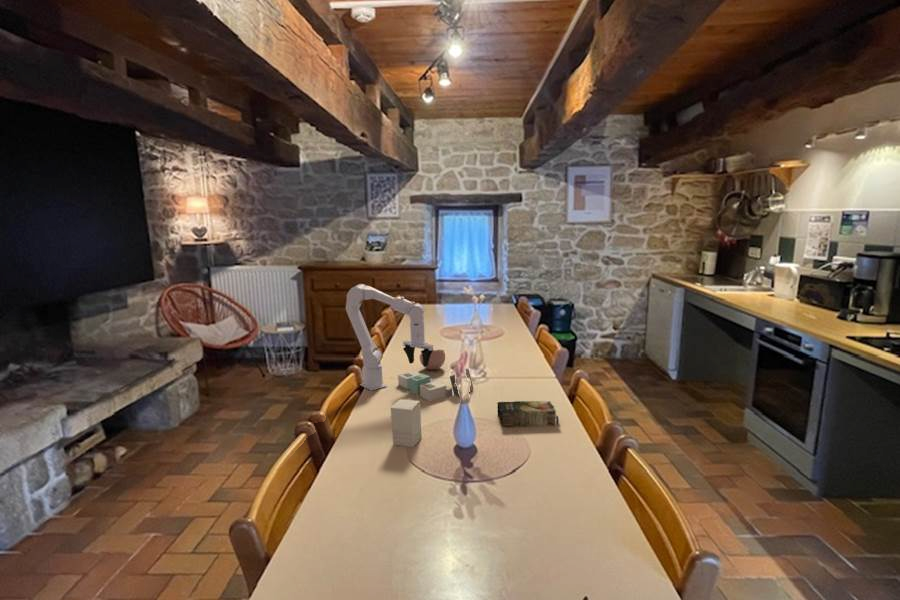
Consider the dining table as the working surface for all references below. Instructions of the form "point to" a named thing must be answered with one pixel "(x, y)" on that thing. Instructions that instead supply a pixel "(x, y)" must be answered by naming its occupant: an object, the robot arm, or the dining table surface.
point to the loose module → (418, 382)
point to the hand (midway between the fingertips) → (418, 364)
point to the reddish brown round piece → (435, 359)
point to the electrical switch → (455, 384)
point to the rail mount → (426, 387)
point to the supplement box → (406, 422)
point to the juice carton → (527, 413)
